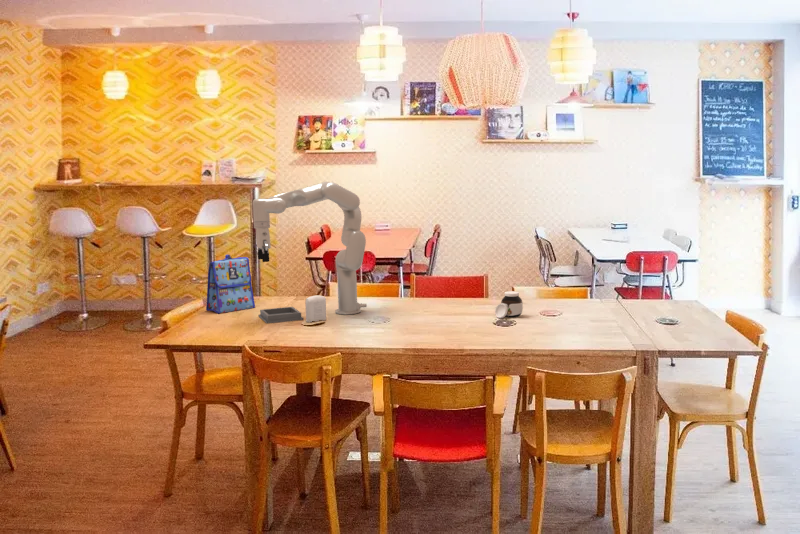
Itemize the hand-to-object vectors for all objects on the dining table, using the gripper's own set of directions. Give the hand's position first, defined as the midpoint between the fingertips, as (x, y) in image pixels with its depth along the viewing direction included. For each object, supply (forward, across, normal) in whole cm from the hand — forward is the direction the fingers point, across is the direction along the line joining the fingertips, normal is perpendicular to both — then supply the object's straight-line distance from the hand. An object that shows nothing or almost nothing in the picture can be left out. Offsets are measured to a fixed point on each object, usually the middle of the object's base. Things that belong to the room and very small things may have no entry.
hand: (263, 260), depth 409 cm
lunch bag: (+30, +37, +11) cm, 49 cm away
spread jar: (+30, -43, -108) cm, 120 cm away
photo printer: (+30, -10, -22) cm, 38 cm away
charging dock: (+30, +4, -8) cm, 31 cm away
